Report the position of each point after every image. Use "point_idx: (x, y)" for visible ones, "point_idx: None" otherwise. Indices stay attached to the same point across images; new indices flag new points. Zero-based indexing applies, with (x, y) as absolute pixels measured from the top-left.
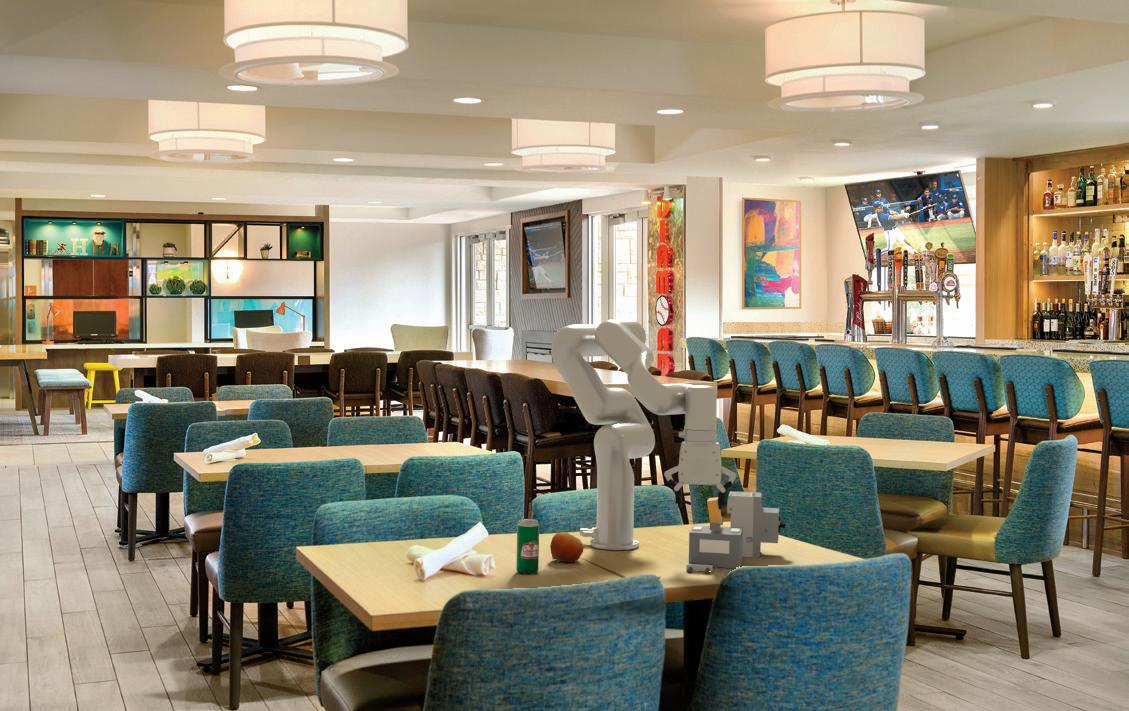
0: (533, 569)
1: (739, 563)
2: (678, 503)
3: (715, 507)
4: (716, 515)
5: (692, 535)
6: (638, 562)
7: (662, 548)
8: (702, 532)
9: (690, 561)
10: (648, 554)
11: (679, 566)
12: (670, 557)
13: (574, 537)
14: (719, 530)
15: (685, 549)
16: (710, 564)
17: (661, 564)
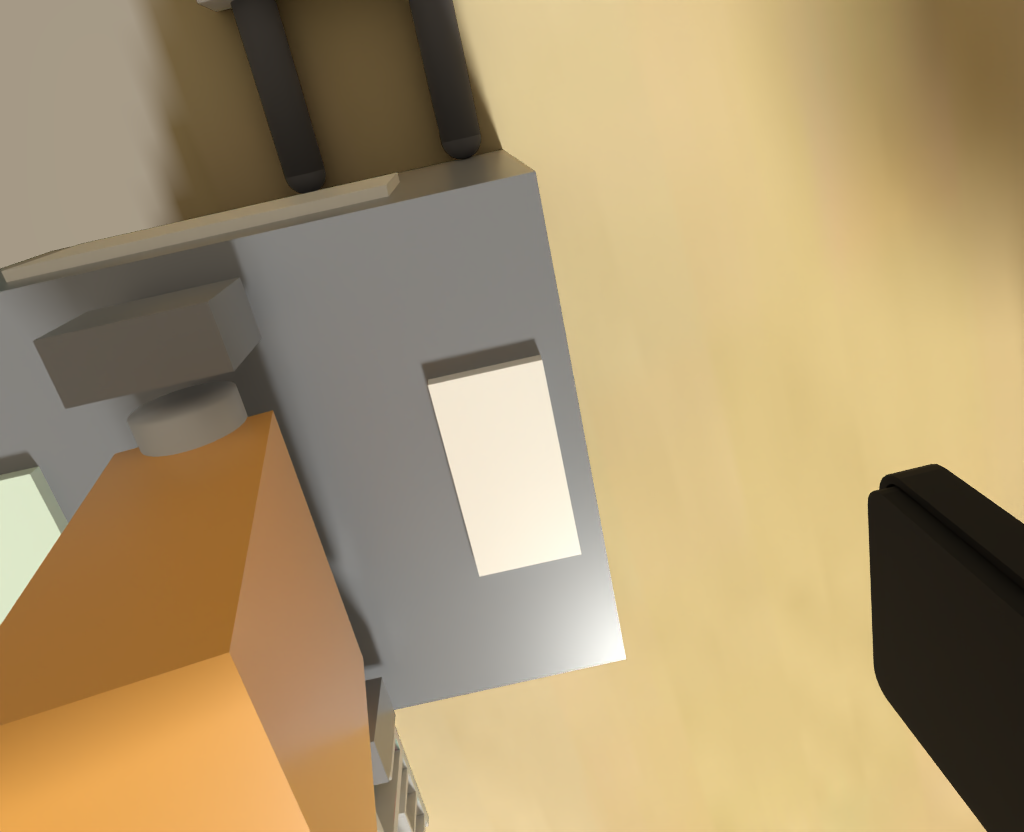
0: None
1: (28, 259)
2: (974, 502)
3: (66, 602)
4: (119, 512)
5: (485, 177)
6: (960, 74)
7: (851, 661)
8: (361, 262)
9: (488, 155)
10: (919, 432)
11: (572, 87)
12: (735, 412)
13: None
14: (95, 312)
15: (694, 704)
16: (280, 142)
17: (746, 93)
